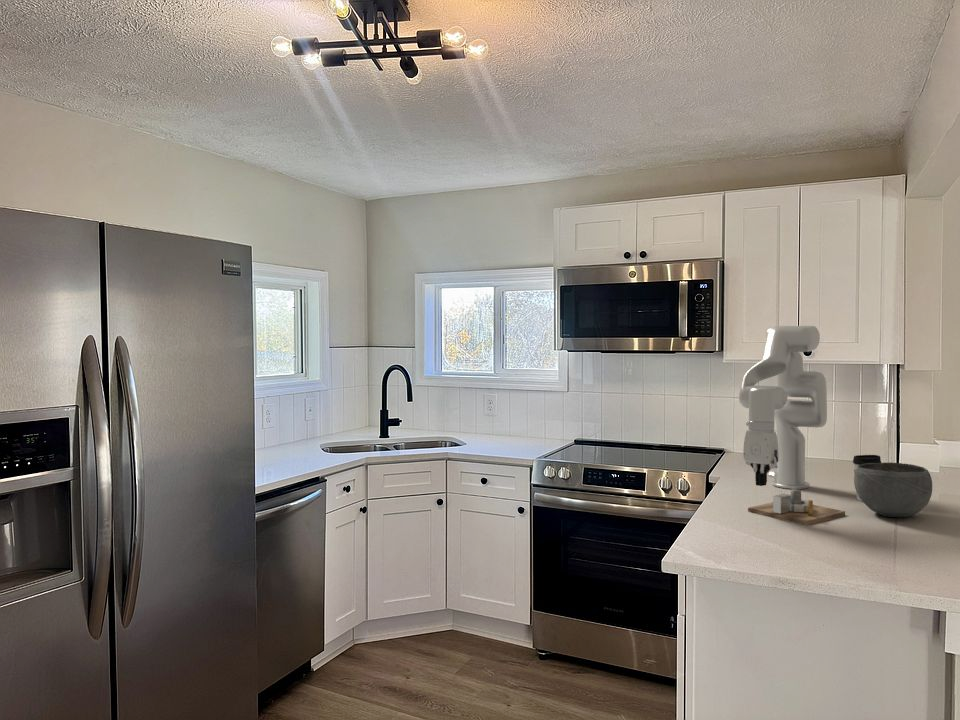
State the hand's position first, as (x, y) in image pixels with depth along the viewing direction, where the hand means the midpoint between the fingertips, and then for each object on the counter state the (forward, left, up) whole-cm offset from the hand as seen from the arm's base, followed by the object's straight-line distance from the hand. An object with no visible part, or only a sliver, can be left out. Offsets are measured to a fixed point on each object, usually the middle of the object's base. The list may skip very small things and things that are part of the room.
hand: (761, 485), depth 222 cm
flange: (+7, +5, -7) cm, 11 cm away
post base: (+7, +8, -9) cm, 13 cm away
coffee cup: (+10, +43, -9) cm, 45 cm away
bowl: (+25, +30, -9) cm, 40 cm away
